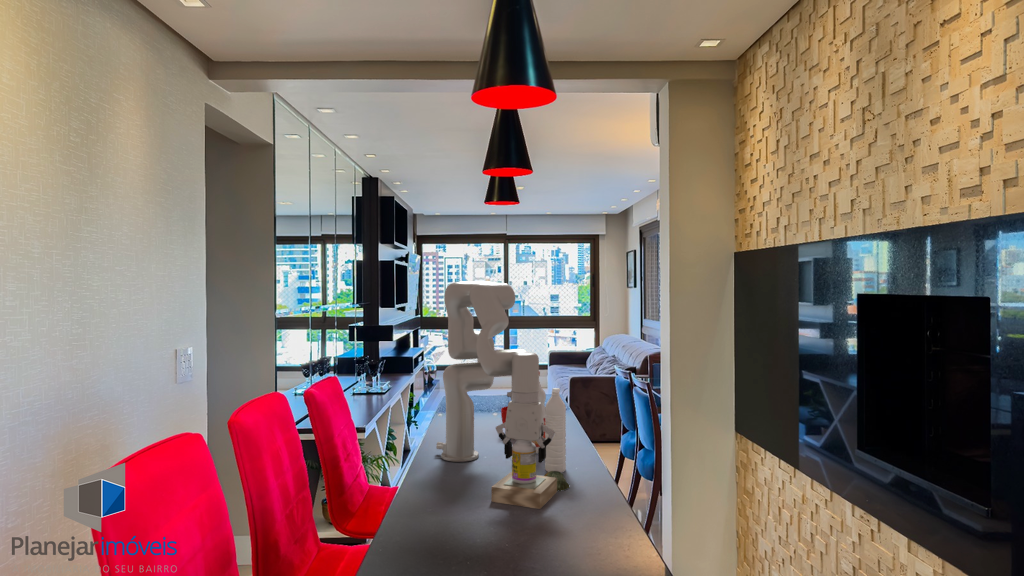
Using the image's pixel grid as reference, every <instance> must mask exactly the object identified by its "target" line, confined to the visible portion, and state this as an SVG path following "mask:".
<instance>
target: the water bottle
mask: <svg viewBox="0 0 1024 576" xmlns="http://www.w3.org/2000/svg"><path fill="white" fill-rule="evenodd" d="M560 392H561V389H560V388H558V387H553V388H551V397H550V398H549V399H548V400H547V402H546V403H545V413H546V414H545V416H546V417H545V421H546V422H545V424H546V426H547V427H549V428H550V429H552V430H553V431H555V432H556V433H555V436H554V437H553V439H552V441H551V442H550V443H549V444H548V445H547V446H546V458H545V459H544V461H545V462H544V469H545V471H547V473H548V472H550V471H559V472H561V473H563V472H566V469H567V465H566V461H567V460H566V458H567V457H566V455H567V453H566V451H567V448H566V445H567V444H566V442H567V439H566V436H567V432H566V431H567V428H566V427H567V422H566V421H567V419H566V418H567V417H566V414H567V408H566V404H565V402H564V400H563V399H562V397H561V394H560ZM548 436H549V435H548V434H547V433H546V432H545V437H546V438H545V440H546V439H547V438H548Z"/></svg>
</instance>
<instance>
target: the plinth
mask: <svg viewBox="0 0 1024 576" xmlns="http://www.w3.org/2000/svg"><path fill="white" fill-rule="evenodd" d="M490 490H491V496H490V497H491V499H490V500H491V502H493V503H496V504H505V505H512V506H519V507H525V508H531V509H538V510H541V509H542V508H543V507H544V506H545V505H546V504H547V503H548V502H549V501H550V500H551V499H552V498H553V497H554V496H555V495H556V494H557V492H558V491H557V478H555V477H547V476H544V475H540V474H539V475H538V474H536V480H535V481H534V482H533V483H529V484H519V483H516V482H514V481H513V480H512V471H510V472H509V473H508V474H507V475H505V476H504V477H502V478H501V479H500V480H498V481H497V482H496V483H494V484H493V485H492V486H491V488H490Z"/></svg>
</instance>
